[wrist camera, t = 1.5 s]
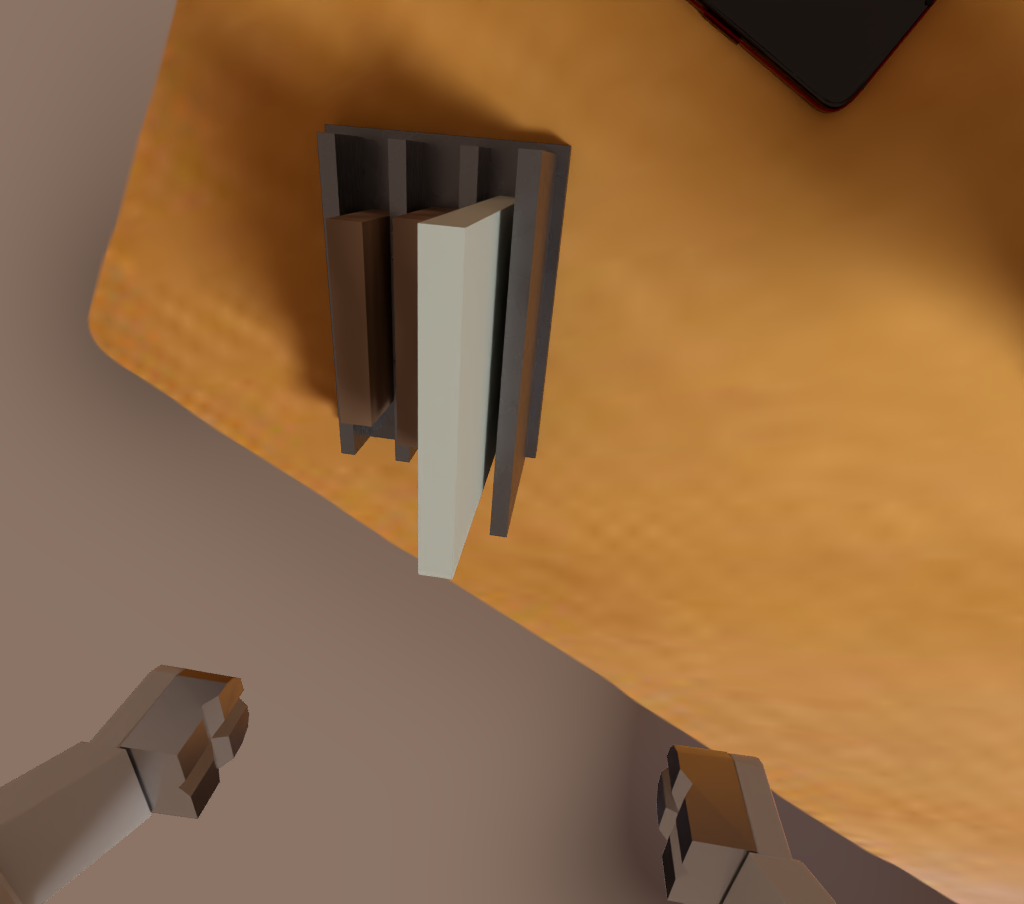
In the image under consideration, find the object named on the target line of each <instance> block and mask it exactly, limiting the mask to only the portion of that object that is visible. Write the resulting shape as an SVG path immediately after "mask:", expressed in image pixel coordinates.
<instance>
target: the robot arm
mask: <svg viewBox="0 0 1024 904" xmlns="http://www.w3.org/2000/svg"><path fill="white" fill-rule="evenodd" d="M243 691H244V689H243V685H242V682H241V678H236V677H231V676H224V675H219V674H213V673H207V672H202V671H196V670H190V669H186V668H179V667H173V666H166V665H160V666H158V667H157V668H155V669H154V670H152V671H151V672H150V673H149V674H148V675H147V676H146V677H145V679H144V680H143V681H142V682H141V683H140V684H139V686H138V687H137V688H136V689H135V690H134V691H133V692H132V694H131V695H130V696H129V697H128V698H127V699H126V701H125V702H124V703H123V704H122V705H121V706H120V708H119V709H118V710H117V711H116V712H115V713H114V715H113V716H112V717H111V718H110V719H109V720H108V721H107V723H106V724H105V725H104V726H103V727H102V729H101V730H100V731H99V732H98V733H97V734H96V735H95V737H94V738H93V739H92V740H91V741H90V742H89V743H88V742H80V743H78V744H76V745H75V746H73V747H71V748H69V749H67V750H66V751H64V752H62V753H60V754H59V755H57V756H55V757H53V758H51V759H50V760H48V761H46V762H45V763H43V764H41V765H39V766H37V767H36V768H34V769H32V770H30V771H28V772H27V773H25V774H23V775H21V776H20V777H18V778H16V779H14V780H13V781H11V782H9V783H7V784H5V785H4V786H2V787H0V904H43V903H45V902H46V901H47V900H48V899H49V898H51V897H52V896H53V895H54V894H56V893H57V892H58V891H59V890H61V889H62V888H63V887H64V886H65V885H67V884H68V883H69V882H70V881H72V880H73V879H74V878H75V877H77V876H78V875H79V874H80V873H81V872H83V871H84V870H85V869H86V868H88V867H89V866H90V865H91V864H92V863H94V862H95V861H96V860H97V859H99V858H100V857H101V856H102V855H104V854H105V853H106V852H107V851H109V850H110V849H111V848H112V847H114V846H115V845H116V844H117V843H118V842H120V841H121V840H122V839H123V838H124V837H126V836H127V835H128V834H130V833H131V832H132V831H133V830H134V829H136V828H137V827H138V826H139V825H141V824H142V823H143V822H144V821H146V820H147V819H148V818H149V817H151V815H152V814H151V812H152V813H159V814H166V815H174V816H180V817H188V818H195V819H198V818H199V816H200V814H201V813H202V811H203V809H204V808H205V806H206V804H207V803H208V801H209V799H210V798H211V796H212V794H213V793H214V791H215V789H216V787H217V786H218V784H219V783H220V777H219V768H220V767H222V766H223V765H225V764H226V763H227V762H229V761H230V760H232V759H233V758H234V757H235V755H236V753H237V752H238V750H239V748H240V746H241V744H242V743H243V740H244V737H245V734H246V731H247V728H248V720H249V712H248V707H247V705H246V704H245V703H244V702H243V701H242V700H241V699H240V698H239V697H240V695H241V694H242V692H243ZM667 762H668V768H667V769H665V770H664V771H662V772H661V775H660V778H659V782H658V789H657V818H658V827H659V829H660V831H661V832H662V834H663V835H664V837H665V838H666V840H667V844H666V846H665V849H664V852H663V854H662V861H663V870H664V878H665V885H666V894H667V900H669V901H674V902H679V903H685V904H837V903H836V902H835V901H834V900H833V898H831V896H830V895H829V894H828V892H827V891H826V890H825V889H824V888H823V887H822V885H821V884H820V883H819V882H818V880H817V879H816V878H815V877H814V876H813V875H812V873H811V872H810V871H809V870H808V868H807V867H806V866H805V865H804V864H803V862H802V861H798V860H794V859H792V856H791V853H790V850H789V847H788V843H787V840H786V837H785V834H784V831H783V828H782V824H781V821H780V818H779V815H778V811H777V808H776V805H775V802H774V798H773V795H772V792H771V789H770V786H769V782H768V779H767V776H766V773H765V769H764V766H763V764H762V763H761V761H760V760H759V758H756V757H753V756H745V755H737V754H730V753H727V752H723V751H716V750H709V749H702V748H694V747H687V746H680V745H672V746H671V747H670V749H669V752H668V754H667Z"/></svg>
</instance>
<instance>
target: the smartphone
mask: <svg viewBox="0 0 1024 904" xmlns="http://www.w3.org/2000/svg"><path fill="white" fill-rule="evenodd" d="M687 1H688V2H689V3H690V4H691V5H693V6H694V7H695V8H696V9H697V10H699V11H700V12H701V13H702V14H703V17H704V18H705V19H706V20H707V21H709V22H710V23H711V24H712V25H713V26H714V27H716V28H717V29H718V30H719V31H720V32H722V33H723V34H724V35H725V36H726V37H728V38H729V39H730V40H731V41H732V42H733V43H735V44H736V45H738V44H739V45H740V46H741V47H742V48H743V49H745V50H746V51H747V52H748V53H749V54H751V55H752V56H753V57H754V58H755V59H756V60H758V61H759V62H760V63H761V64H762V65H764V66H765V67H766V68H767V69H768V70H770V71H771V72H772V73H773V74H774V75H775V76H777V77H778V78H779V79H780V80H781V81H783V82H784V83H785V84H786V85H787V86H788V87H790V88H791V89H792V90H793V91H794V92H796V93H797V94H798V95H799V96H800V97H801V98H803V99H804V100H805V101H806V102H807V103H809V104H810V105H811V106H812V107H813V108H815V109H816V110H818V111H820V112H823V113H832V112H836V111H839V110H841V109H843V108H844V107H846V106H847V105H848V104H850V103H851V102H852V101H853V100H854V99H855V98H856V97H857V96H858V94H859V93H860V92H861V91H862V90H863V89H864V87H865V86H866V85H867V84H868V83H869V81H870V80H871V79H872V78H873V77H874V75H875V74H876V73H877V72H878V71H879V69H880V68H881V67H882V66H883V65H884V63H885V62H886V61H887V60H888V58H889V57H890V56H891V55H892V54H893V52H894V51H895V50H896V49H897V48H898V46H899V45H900V44H901V43H902V42H903V40H904V39H905V38H906V37H907V35H908V34H909V33H910V32H911V31H912V29H913V28H914V27H915V26H916V25H917V23H918V22H919V21H920V20H921V19H922V17H923V16H924V15H925V14H926V12H927V11H928V10H929V9H930V8H931V6H932V5H933V4H934V3H935V2H936V0H695V1H696V2H697V3H696V2H695V1H694V0H687ZM701 6H702V7H703V8H704V9H703V8H702V7H701ZM741 40H742V41H741ZM754 51H755V52H754ZM822 107H823V108H822ZM824 108H825V109H824ZM834 108H836V109H834ZM828 109H834V110H828Z"/></svg>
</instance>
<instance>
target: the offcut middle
mask: <svg viewBox="0 0 1024 904" xmlns="http://www.w3.org/2000/svg"><path fill="white" fill-rule="evenodd" d="M455 210H458V209H453V208H443V207H430V208H426V209H422V210H418V211H415V212H411V213H407V214H403V215H400V216H396V217H392V219H393V264H394V310H395V356H396V402H397V445H401V446H408V447H416V448H418V223H419V222H422V221H425V220H428V219H431V218H434V217H437V216H440V215H443V214H446V213H449V212H452V211H455Z"/></svg>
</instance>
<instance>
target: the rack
mask: <svg viewBox="0 0 1024 904" xmlns="http://www.w3.org/2000/svg"><path fill="white" fill-rule="evenodd" d="M317 141H318V154H319V167H320V180H321V193H322V206H323V219H324V232H325V245H326V258H327V271H328V284H329V297H330V310H331V323H332V336H333V349H334V362H335V375H336V388H337V401H338V414H339V427H340V440H341V453H344V454H352V455H355V454H356V453H357V452H358V451H359V449H360V448H361V447H362V446H363V445H364V443H365V442H366V441H367V440H368V438H369V437H370V436H372V437H380V438H387V439H395V457H396V461H403V462H410V460H411V459H412V457H413V456H414V454H415V452H416V451H417V449H418V448H416V447H408V446H401V445H397V402H396V356H395V310H394V264H393V219H392V217H396V216H400V215H403V214H407V213H411V212H415V211H418V210H422V209H426V208H430V207H443V208H453V209H461V208H464V207H467V206H470V205H473V204H476V203H479V202H482V201H485V200H488V199H491V198H494V197H497V196H511V197H515V203H514V216H513V230H512V243H511V257H510V270H509V283H508V297H507V310H506V324H505V337H504V351H503V364H502V377H501V391H500V404H499V418H498V431H497V445H496V458H495V472H494V485H493V498H492V512H491V525H490V535H494V536H501V537H507V533H508V529H509V525H510V520H511V516H512V512H513V508H514V503H515V499H516V495H517V491H518V486H519V482H520V478H521V474H522V469H523V465H524V461H525V457H530V458H535V457H536V452H537V445H538V436H539V427H540V418H541V410H542V401H543V392H544V383H545V375H546V366H547V357H548V348H549V340H550V331H551V322H552V313H553V305H554V296H555V287H556V278H557V270H558V261H559V252H560V243H561V235H562V226H563V217H564V208H565V200H566V191H567V182H568V173H569V165H570V156H571V147H572V146H568V145H557V144H546V143H534V142H523V141H511V140H500V139H489V138H477V137H466V136H454V135H443V134H432V133H420V132H409V131H398V130H386V129H375V128H363V127H352V126H341V125H329V124H325V133H321V132H317ZM370 209H377V210H387V211H390V249H391V290H392V332H393V373H394V401H393V402H392V403H391V404H390V406H389V407H388V408H387V409H386V410H385V411H384V413H383V414H382V415H381V416H380V417H379V419H378V420H377V421H376V422H375V423H374V424H373V426H372V427H369V426H362V425H354V424H347V423H341V417H340V404H339V390H338V377H337V364H336V351H335V337H334V324H333V311H332V297H331V284H330V271H329V257H328V244H327V231H326V218H331V217H336V216H341V215H345V214H350V213H355V212H360V211H365V210H370Z"/></svg>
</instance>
